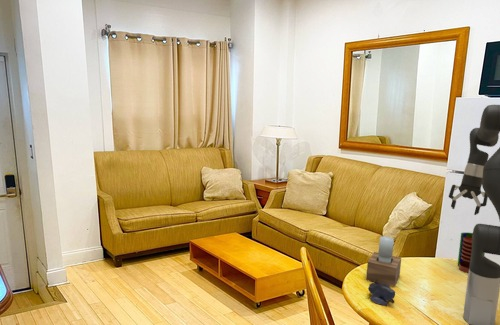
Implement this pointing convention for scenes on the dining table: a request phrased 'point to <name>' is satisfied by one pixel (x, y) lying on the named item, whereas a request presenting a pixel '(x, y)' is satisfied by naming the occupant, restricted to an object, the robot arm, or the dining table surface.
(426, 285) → the dining table surface
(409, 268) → the dining table surface
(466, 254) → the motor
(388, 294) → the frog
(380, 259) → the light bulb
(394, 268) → the housing
